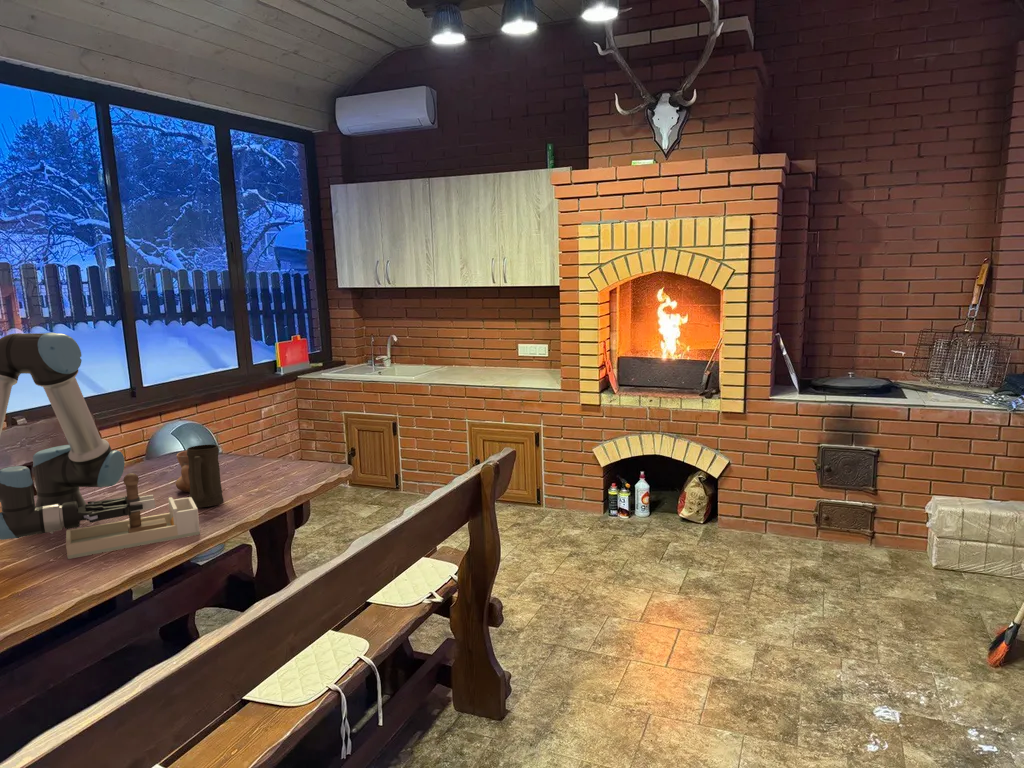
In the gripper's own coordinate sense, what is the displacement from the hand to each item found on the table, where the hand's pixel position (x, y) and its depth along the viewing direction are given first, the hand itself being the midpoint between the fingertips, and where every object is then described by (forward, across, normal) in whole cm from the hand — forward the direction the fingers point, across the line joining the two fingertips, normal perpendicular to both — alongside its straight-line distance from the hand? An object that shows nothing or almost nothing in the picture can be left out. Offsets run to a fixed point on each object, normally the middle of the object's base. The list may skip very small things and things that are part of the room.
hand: (154, 501), depth 213 cm
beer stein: (+17, -21, -11) cm, 29 cm away
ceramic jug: (+17, -42, -11) cm, 47 cm away
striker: (-2, 0, -9) cm, 10 cm away
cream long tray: (-6, 0, -10) cm, 12 cm away
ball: (+6, 0, -8) cm, 9 cm away
